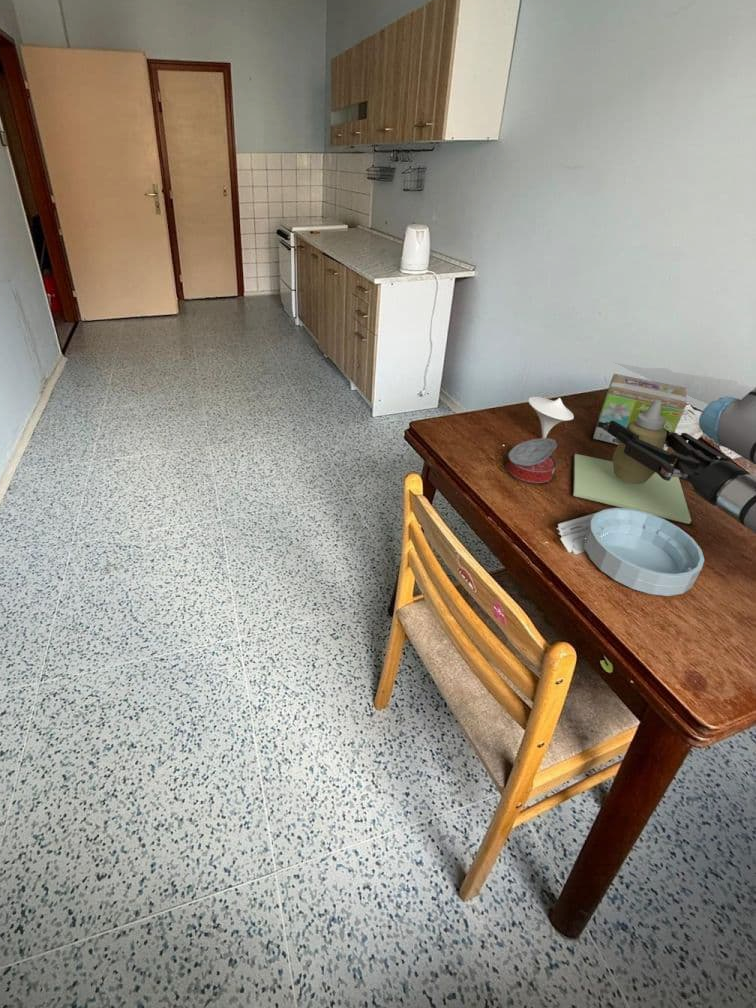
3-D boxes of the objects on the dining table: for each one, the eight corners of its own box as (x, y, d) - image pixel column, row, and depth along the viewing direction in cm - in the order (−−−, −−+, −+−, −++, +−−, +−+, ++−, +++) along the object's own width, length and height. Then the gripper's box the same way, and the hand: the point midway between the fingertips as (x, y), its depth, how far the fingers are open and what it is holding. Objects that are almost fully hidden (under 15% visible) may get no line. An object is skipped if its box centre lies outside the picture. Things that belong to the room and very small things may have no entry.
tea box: (591, 440, 117) (608, 386, 110) (596, 423, 125) (612, 372, 118) (664, 458, 110) (687, 402, 103) (665, 439, 117) (687, 385, 110)
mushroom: (556, 429, 122) (567, 388, 116) (572, 452, 113) (585, 408, 107) (515, 428, 123) (524, 387, 118) (527, 451, 114) (538, 407, 108)
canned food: (534, 500, 105) (533, 477, 98) (497, 474, 112) (494, 450, 105) (569, 467, 106) (570, 442, 99) (531, 443, 113) (529, 419, 106)
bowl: (683, 544, 86) (693, 523, 84) (701, 612, 73) (714, 590, 71) (583, 518, 93) (590, 498, 90) (583, 577, 80) (591, 555, 78)
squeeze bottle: (648, 493, 94) (679, 415, 86) (603, 477, 99) (629, 402, 91) (656, 475, 100) (686, 399, 91) (612, 461, 105) (638, 388, 96)
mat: (676, 478, 103) (678, 475, 102) (689, 524, 90) (691, 520, 90) (573, 457, 111) (574, 453, 111) (573, 495, 99) (574, 492, 98)
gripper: (676, 516, 79) (580, 444, 99) (769, 499, 83) (657, 433, 103) (693, 480, 76) (589, 413, 96) (789, 464, 79) (669, 403, 99)
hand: (624, 424), depth 99 cm, fingers closed on squeeze bottle, 6 cm apart
